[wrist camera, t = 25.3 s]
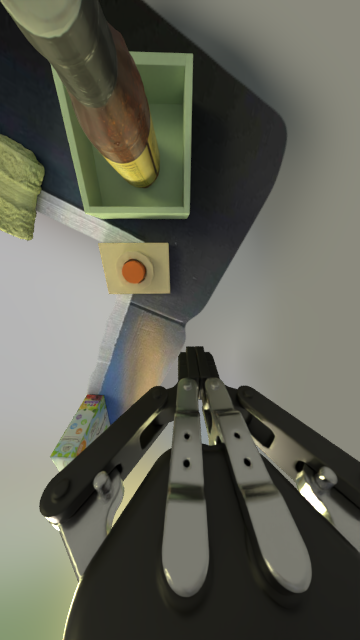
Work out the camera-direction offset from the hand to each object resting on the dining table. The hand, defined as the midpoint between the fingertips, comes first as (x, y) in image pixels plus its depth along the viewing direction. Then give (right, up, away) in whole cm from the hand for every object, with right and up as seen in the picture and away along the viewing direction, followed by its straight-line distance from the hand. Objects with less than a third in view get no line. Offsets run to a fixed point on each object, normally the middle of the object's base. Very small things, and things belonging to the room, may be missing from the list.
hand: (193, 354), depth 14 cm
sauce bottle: (-7, +26, +9) cm, 29 cm away
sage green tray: (-7, +27, +10) cm, 29 cm away
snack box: (-27, -28, +37) cm, 54 cm away
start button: (-9, +12, +13) cm, 20 cm away
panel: (-9, +13, +16) cm, 23 cm away
